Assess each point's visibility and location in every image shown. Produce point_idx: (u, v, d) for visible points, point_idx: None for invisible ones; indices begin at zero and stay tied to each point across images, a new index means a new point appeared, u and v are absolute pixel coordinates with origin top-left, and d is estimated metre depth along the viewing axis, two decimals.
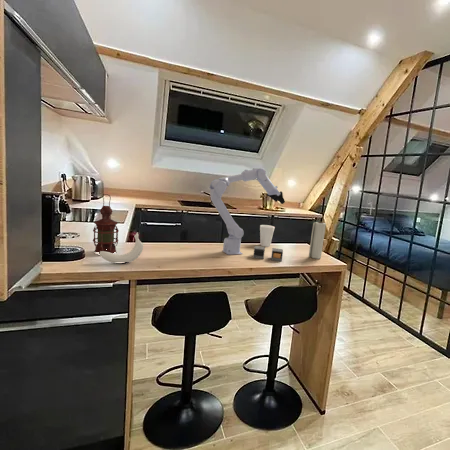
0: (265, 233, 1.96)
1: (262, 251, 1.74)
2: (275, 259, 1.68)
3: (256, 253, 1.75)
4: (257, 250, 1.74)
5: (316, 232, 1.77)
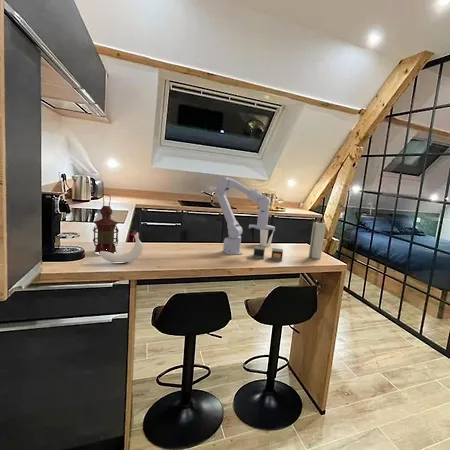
0: (265, 233, 1.96)
1: (262, 251, 1.74)
2: (275, 259, 1.68)
3: (256, 253, 1.75)
4: (257, 250, 1.74)
5: (316, 232, 1.77)
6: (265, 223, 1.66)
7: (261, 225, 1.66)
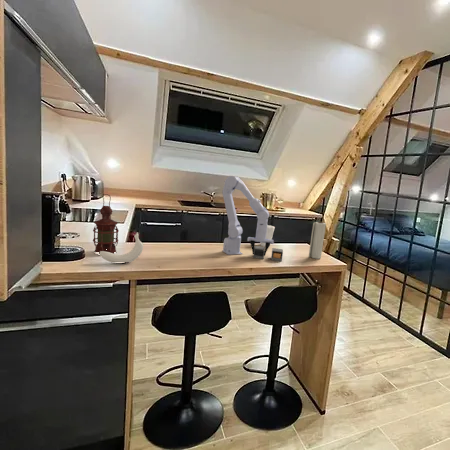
0: None
1: (262, 251, 1.74)
2: (275, 259, 1.68)
3: (256, 253, 1.75)
4: (257, 250, 1.74)
5: (316, 232, 1.77)
6: (264, 236, 1.67)
7: (260, 238, 1.67)
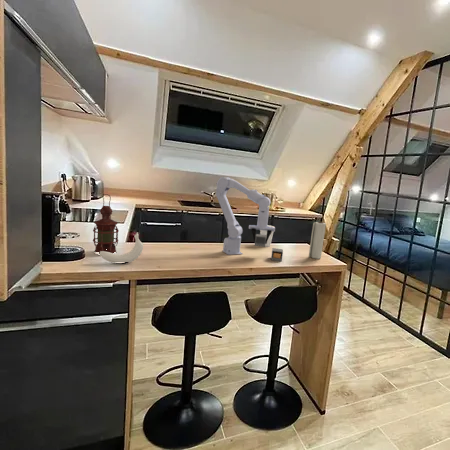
0: (265, 233, 1.96)
1: (263, 239, 1.72)
2: (275, 259, 1.68)
3: (257, 241, 1.73)
4: (258, 238, 1.73)
5: (316, 232, 1.77)
6: (265, 224, 1.66)
7: (261, 226, 1.66)
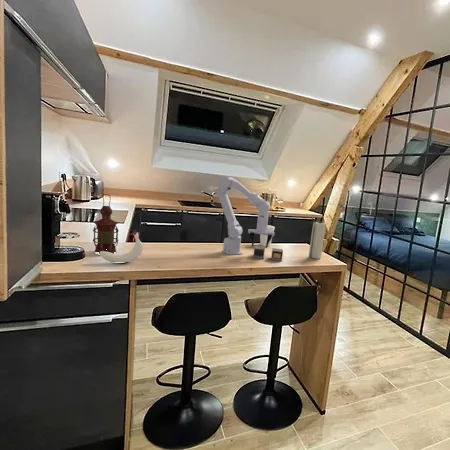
0: None
1: (262, 251, 1.74)
2: (275, 259, 1.68)
3: (256, 253, 1.74)
4: (257, 250, 1.74)
5: (316, 232, 1.77)
6: (264, 228, 1.67)
7: (260, 230, 1.67)
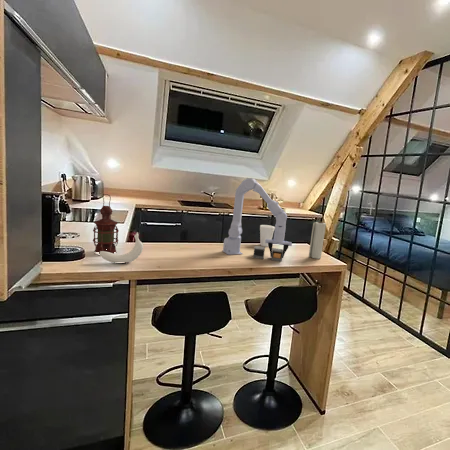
0: (265, 233, 1.96)
1: (262, 251, 1.74)
2: (275, 259, 1.68)
3: (256, 253, 1.74)
4: (257, 250, 1.74)
5: (316, 232, 1.77)
6: (282, 238, 1.66)
7: (278, 240, 1.66)
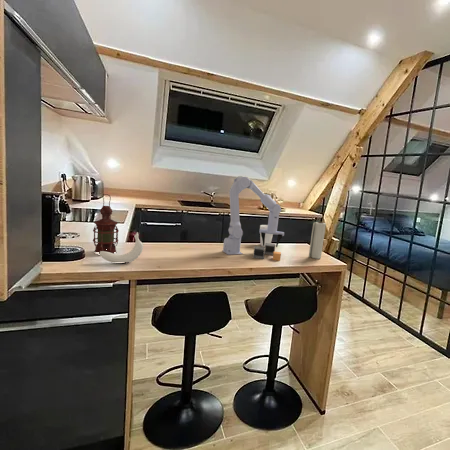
0: (265, 233, 1.96)
1: (262, 251, 1.74)
2: (268, 253, 1.79)
3: (256, 253, 1.74)
4: (257, 250, 1.74)
5: (316, 232, 1.77)
6: (275, 228, 1.77)
7: (271, 230, 1.77)
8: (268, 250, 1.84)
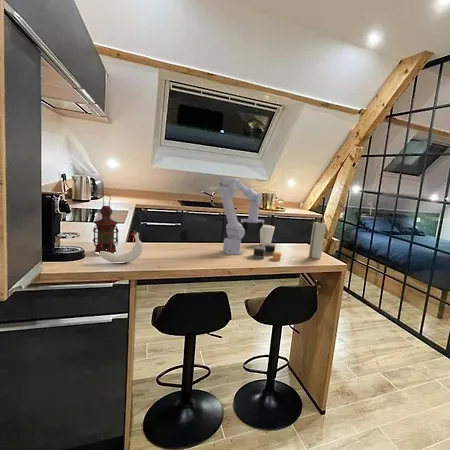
0: (265, 233, 1.96)
1: (262, 251, 1.74)
2: (268, 253, 1.79)
3: (256, 253, 1.74)
4: (257, 250, 1.74)
5: (316, 232, 1.77)
6: (257, 217, 1.82)
7: (254, 219, 1.81)
8: (268, 250, 1.84)
